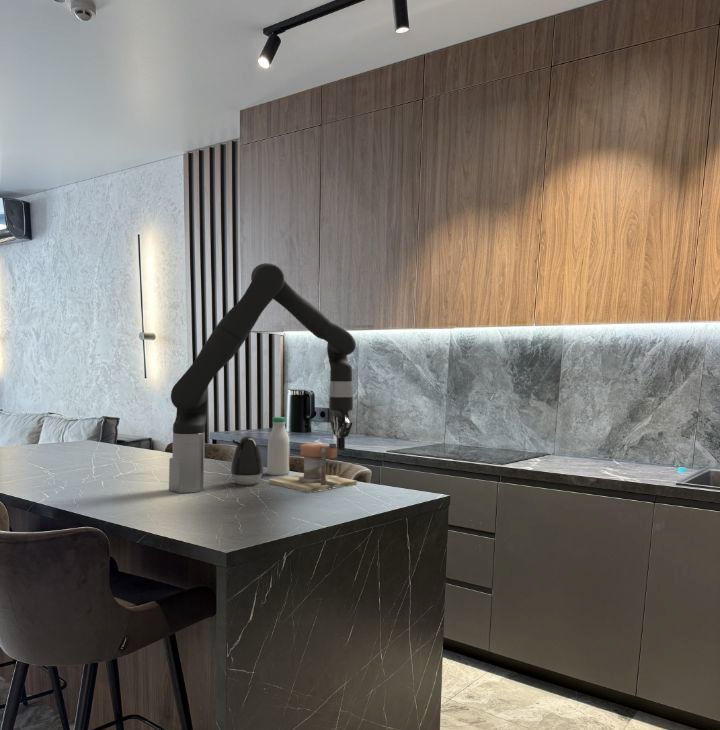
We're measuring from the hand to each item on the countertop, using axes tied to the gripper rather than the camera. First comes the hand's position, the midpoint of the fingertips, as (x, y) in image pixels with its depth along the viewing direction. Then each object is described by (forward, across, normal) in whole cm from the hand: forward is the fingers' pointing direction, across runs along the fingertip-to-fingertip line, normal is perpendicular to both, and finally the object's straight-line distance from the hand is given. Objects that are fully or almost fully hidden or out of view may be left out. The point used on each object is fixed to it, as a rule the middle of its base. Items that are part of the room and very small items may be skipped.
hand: (340, 449), depth 190 cm
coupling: (+2, +2, +6) cm, 7 cm away
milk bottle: (+11, +27, +12) cm, 32 cm away
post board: (+11, +5, +7) cm, 14 cm away
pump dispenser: (+11, +13, +27) cm, 32 cm away
